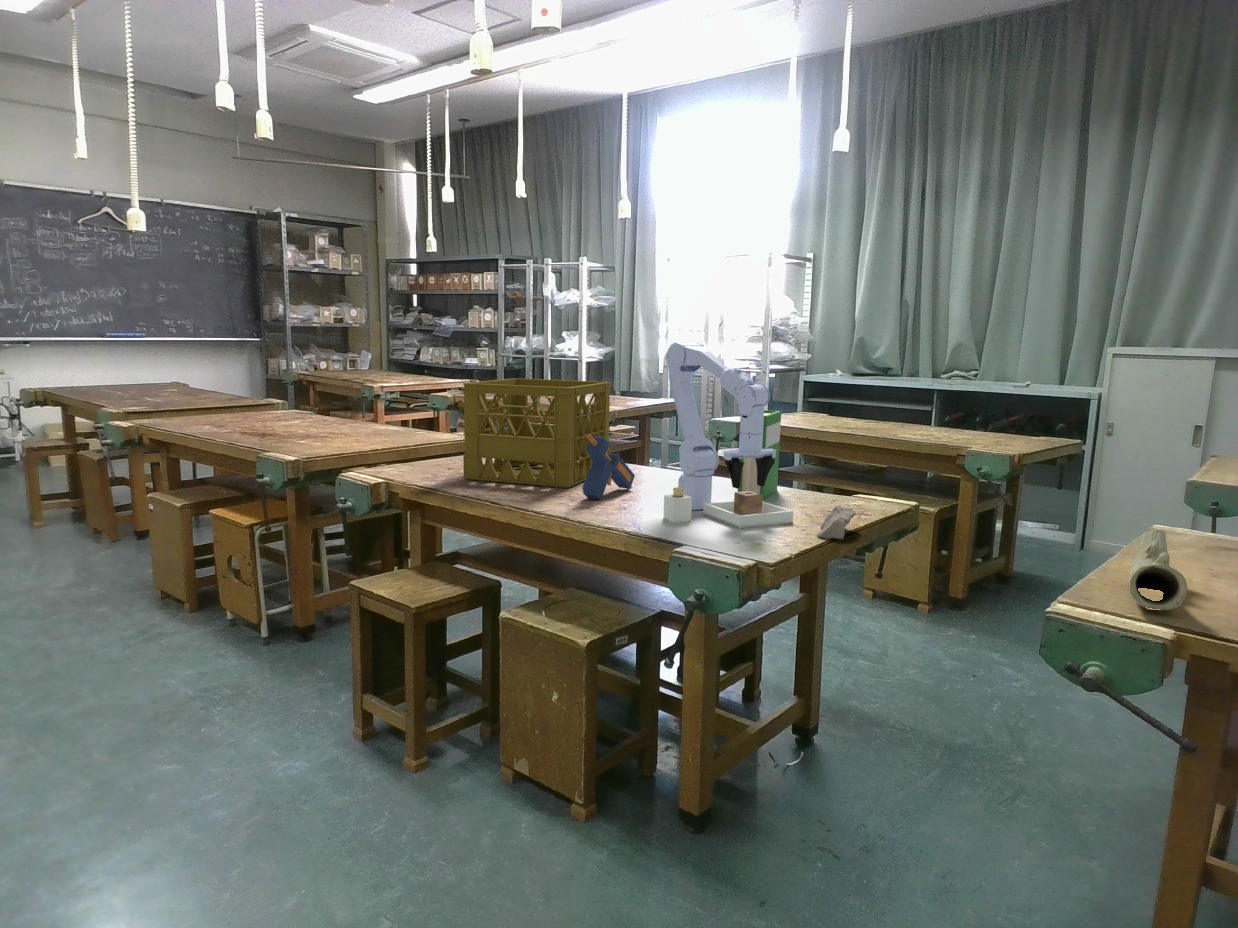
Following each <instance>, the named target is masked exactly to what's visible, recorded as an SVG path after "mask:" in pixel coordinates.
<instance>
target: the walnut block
mask: <svg viewBox="0 0 1238 928" xmlns="http://www.w3.org/2000/svg"><path fill="white" fill-rule="evenodd" d="M733 498H734V500H733V501H734V513H735V514H738V515H751V514H761V513H762V498H763V494H760V493H756V492H753V491H742V492H738V491H734V497H733Z"/></svg>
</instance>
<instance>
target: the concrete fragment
mask: <svg viewBox="0 0 1238 928" xmlns="http://www.w3.org/2000/svg"><path fill="white" fill-rule="evenodd" d="M857 512H858V511H856V510H854V509H853V508H848V507H844V506H842V505H836V506H834V507H833V509H832V510H830V512H829V513H828V514H827V515H826V516H825V517H824V520H823V522H822V524H821V526H820V530H819V531H818V532H817V534H816V536H817V537H818V538H822V539H826V540H828V539H835V540H836V539H837V540H844V538H845V529H846V526H847V525H848V524H849V523H850V522H851V520H852V519H853V518H854V517H855V516H856V515H857Z"/></svg>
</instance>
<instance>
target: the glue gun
mask: <svg viewBox="0 0 1238 928" xmlns="http://www.w3.org/2000/svg"><path fill="white" fill-rule="evenodd" d="M586 437H587V439H588V440H589V441H590V442H589V445H588V447H587V450H586V451H587V452H588V453H589V454H590V456H591V457H592V460H593V462H592V466H591V469H590V471H589V473H588V476H587V478H586V480H585V481H583V485H582V494H583V495H584V496H585V497H586V498H587V499H591V500H598V501H602V499H603V497H604V494H605V490H606V487H607V486H612V482H611V480H612V481H613V483H614V484H615V485H616V486H617V487H618V488H621V489H628V490H630V489H631V488H633V486H632V484H633V482H634V480H635V477H636V475H635V474H634V472H633V471H632V470H631V468H630V467H629V466H628V465H627V464H626V463H625V461H624V460H623V459H622V458H621V456H620V455H619V454H617V453H606V452H607V449H608V446H610V442H609V443H608V442H607V441H606V439H605V438H603V437H592V435H591V434H587V435H586Z"/></svg>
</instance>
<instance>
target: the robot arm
mask: <svg viewBox="0 0 1238 928" xmlns="http://www.w3.org/2000/svg"><path fill="white" fill-rule="evenodd" d="M664 356H665V360H666V365H667V369H668V380H669V384H670V385H669V386H670V389H671V392H672V398H673V401H674V405H675V408H676V414H677V417H678V421H679V426H680V429H681V434H682V437H683V442H682V444H681V445H680V446H679V447H678V453H679V454H678V455H679V459H678V460H679V463H678V464H679V467H680V470H681V471H682V472H683V473H681V475H680V476H679V478H678V482H677V485H678V486H677V487H678V488H683V495H686V496H689V497H692V508H691V511H699V510H703V507H704V503H712V487H713V486H712V484H713V475H714V474H715V471H716V469H717V468H718V466H719V463H720V457H719V454H718V452H717V451H716V450H715V449H716V448H714V444H713V442H712V441H711V440H710V439H708V438H707V437H706V436H705V434H704V430H703V426H702V421H701V418H700V414H699V411H698V406H697V403H696V399H695V398H696V397H695V395H694V390H693V386H692V382H691V380H692V379H693V377H694V376H695V375H696V374H697V373H698V372H699V371H700V369H701V368H703V369H704V370H706V371H707V372H709V374H710V373H711V374H712V375H713V376H714V377H716V378H717V379H719V384H720V386H721V388H723V389H725V390H726V391H727V392H728V393H729V394H731V395H732V396H733V397H734V398H735V400H736V402H737V405H738V408H739V409H738V411H739V415H740V419H739V421H740V422H739V439H738V440H739V441H738V442H739V443H738V449H734V450H725V451H723V459H724V464H725V466H726V468H727V470H728V472H729V473H728V474H729V476H730V480H731V486H732V489H733V488H734V489H737V490H738V488H740V480H741V472H742V468H743V465H744V462H740V460H739V459H747V458H755V460H756V465H757V485H759V486H762V487H763V486H764V485H765V482H766V479H767V476H768V473H769V471H770V469H771V468H772V466H773V464H774V463H775V459H773V458H772V457H776V450H774V449H762V440H763V423H764V410H765V407H766V406H767V405H768V404H769V402H770V398H771V393H770V391H769V390H770V389H769V388H768V387H767V386H766V385H765V384H763V383H755V380H754V379H752V378H749V377H748V376H746V375H745V374H743V373H742V371H743V370H742V369H741V368H740V367H731V368H729V367H727V366H726V365H725V364H724V363H723V362H722V361H721V360H720V359H718V358H717V357H716V356H715V355H714V354H713V353H712V352H711V351H710V348H709V347H707V346H705V345H704V344H703V343H701V342H696V343H695V342H694V343H689V342H687V343H686V342H684V343H683V342H673V343H671V344H670V345H669V347H668V349H667V350H666V354H665V355H664Z"/></svg>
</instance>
